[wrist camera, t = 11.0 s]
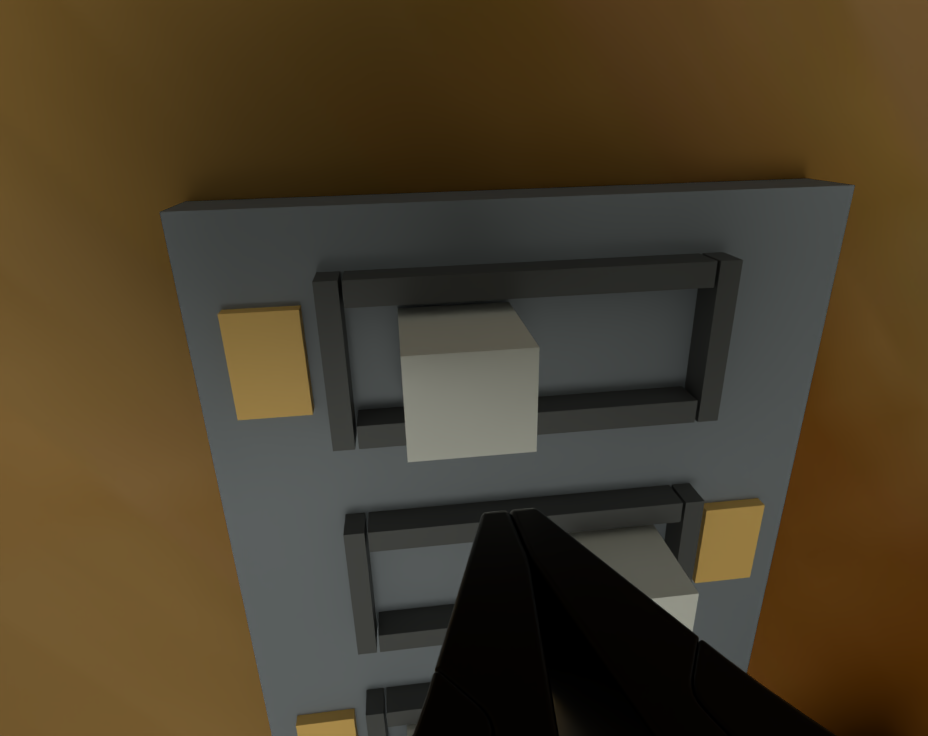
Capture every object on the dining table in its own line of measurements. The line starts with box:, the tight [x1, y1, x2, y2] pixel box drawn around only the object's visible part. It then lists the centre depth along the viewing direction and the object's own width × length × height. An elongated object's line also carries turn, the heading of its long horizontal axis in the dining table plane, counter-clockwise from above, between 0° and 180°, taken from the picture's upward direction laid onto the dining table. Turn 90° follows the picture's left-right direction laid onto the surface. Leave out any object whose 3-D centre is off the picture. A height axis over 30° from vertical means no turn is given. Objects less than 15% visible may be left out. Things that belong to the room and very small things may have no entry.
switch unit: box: [160, 178, 855, 736], centre depth 20 cm, size 18×23×3 cm
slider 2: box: [568, 525, 699, 632], centre depth 18 cm, size 3×3×4 cm
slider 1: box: [397, 302, 540, 462], centre depth 15 cm, size 3×3×4 cm
